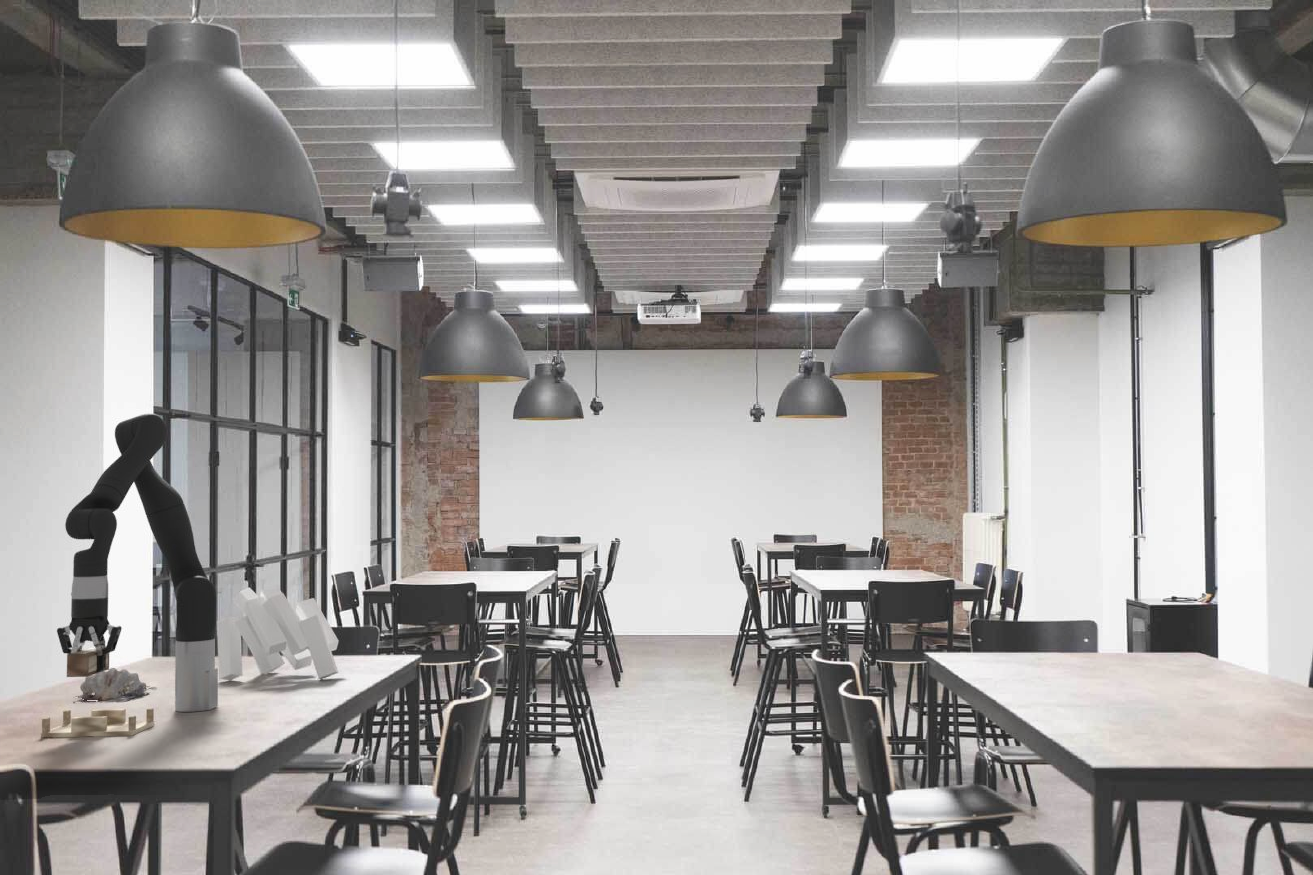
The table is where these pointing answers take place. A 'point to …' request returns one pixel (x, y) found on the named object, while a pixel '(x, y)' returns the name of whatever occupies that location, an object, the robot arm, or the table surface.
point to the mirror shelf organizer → (98, 724)
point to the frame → (84, 663)
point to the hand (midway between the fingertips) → (88, 671)
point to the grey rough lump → (112, 686)
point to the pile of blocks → (275, 635)
